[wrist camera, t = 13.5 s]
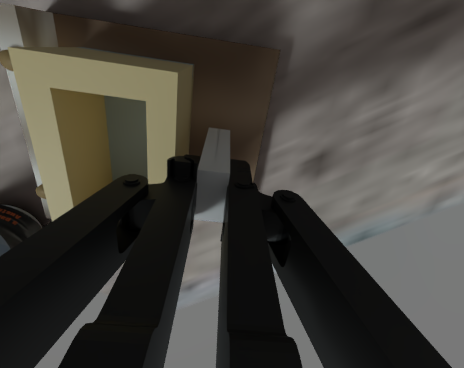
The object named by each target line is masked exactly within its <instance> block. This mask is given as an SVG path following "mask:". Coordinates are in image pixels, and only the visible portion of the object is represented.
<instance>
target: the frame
mask: <svg viewBox="0 0 464 368" xmlns="http://www.w3.org/2000/svg"><path fill="white" fill-rule="evenodd" d="M7 48H8V51H9V55H10V59H11V63H12V67H13V71H14V75H15V79H16V83H17V87H18V90H19V94H20V98H21V102H22V106H23V110H24V114H25V118H26V122H27V126H28V130H29V133H30V137H31V141H32V145H33V149H34V153H35V157H36V161H37V165H38V169H39V173H40V176H41V180H42V184H43V188H44V192H45V196H46V200H47V204H48V208H49V212H50V215H51V219H52V221H54V220H55V219H57V218H58V217H60V216H61V215H63V214H64V213H66V212H67V211H69V210H70V209H72V208H73V207H75V206H76V205H78V204H79V203H81V202H82V201H84V200H85V199H87V198H88V197H90V196H91V195H93V194H94V193H96V192H97V191H99V190H100V189H102V188H103V187H105V186H106V185H108V184H109V183H111V182H112V181H114V180H116V179H117V178H119V177H121V176H124V175H128V174H136V175H142V176H144V177H146V178H147V179H148V184H158V183H163V182H165V180H166V178H167V160H168V159H169V158H171V157H174V156H184V155H186V154H188V155H189V144H190V128H191V112H192V96H193V80H194V64H188V63H182V62H175V61H169V60H162V59H156V58H149V57H143V56H136V55H130V54H123V53H117V52H110V51H104V50H97V49H91V48H84V47H7Z"/></svg>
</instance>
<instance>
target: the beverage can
mask: <svg viewBox="0 0 464 368" xmlns="http://www.w3.org/2000/svg"><path fill="white" fill-rule="evenodd" d="M40 229H42V226H41V224H40V223H39V221H38V220H37V219H36V218H35V217H34V216H32V215H31V214H29V213H28V212H26V211H24V210H22V209H20V208H17V207H14V206H10V205H0V256H1V255H3V254H4V253H6V252H7V251H9V250H10V249H12V248H13V247H15V246H16V245H18V244H19V243H21V242H22V241H24V240H25V239H27V238H28V237H30V236H31V235H33V234H34V233H36V232H37V231H39V230H40Z"/></svg>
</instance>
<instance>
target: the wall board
mask: <svg viewBox="0 0 464 368" xmlns="http://www.w3.org/2000/svg"><path fill="white" fill-rule="evenodd" d="M7 47H84V48H91V49H97V50H104V51H110V52H117V53H123V54H130V55H136V56H143V57H149V58H156V59H162V60H169V61H175V62H182V63H188V64H194V80H193V96H192V112H191V128H190V144H189V155H196V156H201V155H202V151H203V148H204V144H205V140H206V137H207V133H208V129H209V128H217V129H225V130H230V159H236V160H244V161H246V162H247V163H248V164H249V165H250V170H251V175H252V181H253V180H254V175H255V171H256V166H257V161H258V156H259V151H260V146H261V142H262V137H263V132H264V127H265V122H266V117H267V113H268V108H269V103H270V98H271V93H272V88H273V84H274V79H275V74H276V69H277V64H278V59H279V55H280V50H277V49H271V48H265V47H259V46H253V45H247V44H241V43H235V42H228V41H222V40H216V39H210V38H204V37H198V36H192V35H185V34H179V33H173V32H167V31H161V30H155V29H149V28H143V27H136V26H130V25H124V24H118V23H112V22H106V21H100V20H93V19H87V18H81V17H75V16H69V15H63V14H57V13H51V12H46V11H41V10H36V9H31V8H26V7H21V6H15V5H10V4H3V3H0V48H1V52H0V62H1V64H2V65H3V66H4V67H5V68H6V71H7V74H8V78H9V82H10V85H11V89H12V93H13V97H14V100H15V104H16V108H17V112H18V115H19V119H20V123H21V126H22V130H23V134H24V138H25V141H26V145H27V149H28V153H29V156H30V160H31V164H32V167H33V171H34V175H35V179H36V182H37V186H38V187H37V188H36V194H37V195H38V196H39V197H41V201H42V205H43V208H44V212H45V216H46V218H50V219H51V215H50V212H49V208H48V204H47V200H46V196H45V192H44V188H43V184H42V180H41V176H40V173H39V169H38V165H37V161H36V157H35V153H34V149H33V145H32V141H31V137H30V133H29V130H28V126H27V122H26V118H25V114H24V110H23V106H22V102H21V98H20V94H19V90H18V87H17V83H16V79H15V75H14V71H13V67H12V63H11V59H10V55H9V51H8V48H7Z"/></svg>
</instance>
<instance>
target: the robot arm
mask: <svg viewBox="0 0 464 368" xmlns="http://www.w3.org/2000/svg"><path fill="white" fill-rule="evenodd" d="M194 220H202V221H212V222H222V223H223V227H222V234H221V241H222V244H221V266H220V288H219V310H218V312H219V313H218V332H217V354H216V368H302V364H301V360H300V355H299V352H298V349H297V345H296V343H295V341H294V339H293V338H291V337H288V336H287V335H286V333H285V329H284V325H283V319H282V314H281V309H280V304H279V298H278V293H277V288H276V283H275V278H274V272H273V267H272V264H273V266H274V268H275V270H276V272H277V274H278V276H279V278H280V280H281V282H282V284H283V286H284V288H285V290H286V292H287V294H288V296H289V298H290V300H291V302H292V304H293V306H294V308H295V310H296V312H297V314H298V316H299V318H300V320H301V322H302V324H303V326H304V328H305V331H306V333H307V335H308V337H309V338H310V341H311V343H312V345H313V347H314V349H315V351H316V353H317V355H318V357H319V359H320V361H321V363H322V365H323V367H324V368H452V367H451V366H450V365H449V364H448V363H447V362H446V361H445V359H444V358H443V357H442V356H441V355H440V354H439V353H438V351H436V349H435V348H434V347H433V346H432V345H431V344H430V342H429V341H428V340H427V339H426V338H425V337H424V336H423V335H422V333H421V332H420V331H419V330H418V329H417V328H416V327H415V325H414V324H413V323H412V322H411V321H410V320H409V319H408V318H407V316H406V315H405V314H404V313H403V312H402V311H401V310H400V308H398V306H397V305H396V304H395V303H394V302H393V301H392V299H391V298H390V297H389V296H388V295H387V294H386V293H385V291H384V290H383V289H382V288H381V287H380V286H379V285H378V284H377V282H376V281H375V280H374V279H373V278H372V277H371V276H370V274H369V273H368V272H367V271H366V270H365V269H364V268H363V267H362V266H361V264H360V263H359V262H358V261H357V260H356V259H355V258H354V257H353V255H352V254H351V253H350V252H349V251H348V250H347V248H346V247H345V246H344V245H343V244H342V243H341V242H340V241H339V239H338V238H337V237H336V236H335V235H334V234H333V233H332V231H331V230H330V229H329V228H328V227H327V226H326V225H325V224H324V222H323V221H322V220H321V219H320V218H319V217H318V216H317V214H316V213H315V212H314V211H313V210H312V209H311V208H310V207H309V205H308V204H307V203H306V202H305V201H304V200H303V199H302V198H301V197H300V196H299V195H298V194H296V193H294V192H292V191H289V190H278V191H276V192H274V194H273V197H271V196H268V195H265V194H262V193H260V192H258V189H257V186H256V184H255V183H253V181H252V175H251V170H250V165H249V164H248V163H247V162H246V161H244V160H236V159H230V130H225V129H217V128H209V129H208V133H207V137H206V140H205V144H204V148H203V151H202V155H201V156H196V155H188V154H186V155H184V156H174V157H171V158H169V159H168V160H167V178H166V180H165V182H163V183H158V184H148V179H147V178H146V177H144V176H142V175H136V174H128V175H124V176H121V177H119V178H117V179H116V180H114V181H112V182H111V183H109V184H108V185H106V186H105V187H103V188H102V189H100V190H99V191H97V192H96V193H94V194H93V195H91V196H90V197H88V198H87V199H85V200H84V201H82V202H81V203H79V204H78V205H76V206H75V207H73V208H72V209H70V210H69V211H67V212H66V213H64V214H63V215H61V216H60V217H58V218H57V219H55V220H54V221H52V222H51V223H49V224H48V225H46V226H45V227H43V228H42V229H40V230H39V231H37V232H36V233H34V234H33V235H31V236H30V237H28V238H27V239H25V240H24V241H22V242H21V243H19V244H18V245H16V246H15V247H13V248H12V249H10V250H9V251H7V252H6V253H4V254H3V255H1V256H0V368H34V367H35V366H36V365H37V364H38V362H39V361H40V360H41V359H42V358H43V357H44V355H45V354H46V353H47V352H48V351H49V350H50V348H51V347H52V346H53V345H54V344H55V343H56V341H57V340H58V339H59V338H60V337H61V336H62V334H63V333H64V332H65V331H66V330H67V328H68V327H69V326H70V325H71V324H72V322H73V321H74V320H75V319H76V318H77V317H78V315H79V314H80V313H81V312H82V311H83V310H84V309H85V307H86V306H87V305H88V304H89V303H90V302H91V300H92V299H93V298H94V297H95V296H96V294H97V293H98V292H99V291H100V290H101V289H102V287H103V286H104V285H105V284H106V283H107V282H108V280H109V279H110V278H111V277H112V276H113V275H114V273H115V272H116V271H117V270H118V269H119V268H120V266H121V265H122V264H123V263H124V262H125V263H124V265H123V267H122V269H121V271H120V273H119V275H118V277H117V279H116V281H115V283H114V285H113V287H112V289H111V291H110V293H109V295H108V297H107V300H106V302H105V304H104V306H103V308H102V310H101V312H100V314H99V315H98V317H97V319H96V320H95V321H94V322H93V323H87V324H85V325H84V326H83V327H82V328H81V329H80V330H79V332H78V333H77V335H76V336H75V338H74V340H73V341H72V343H71V345H70V347H69V349H68V350H67V353H66V354H65V356H64V358H63V360H62V362H61V364H60V365H59V367H58V368H163V367H164V363H165V358H166V353H167V349H168V344H169V339H170V334H171V330H172V325H173V320H174V315H175V310H176V306H177V301H178V296H179V291H180V287H181V282H182V277H183V272H184V268H185V263H186V258H187V253H188V249H189V244H190V239H191V234H192V229H193V222H194ZM125 260H126V261H125Z"/></svg>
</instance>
